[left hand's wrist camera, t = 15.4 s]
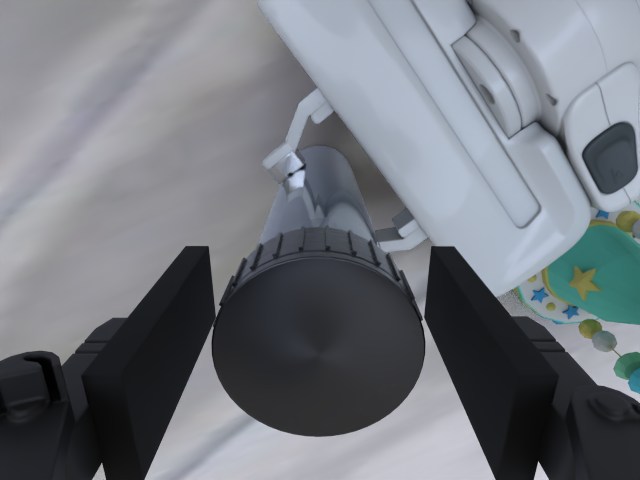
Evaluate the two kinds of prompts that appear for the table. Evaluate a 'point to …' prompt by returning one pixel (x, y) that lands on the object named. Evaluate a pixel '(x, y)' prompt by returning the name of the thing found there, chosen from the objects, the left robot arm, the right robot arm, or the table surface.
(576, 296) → the decorative hourglass
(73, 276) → the table surface
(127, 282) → the table surface
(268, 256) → the lid
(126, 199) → the table surface
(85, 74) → the table surface
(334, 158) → the jar
